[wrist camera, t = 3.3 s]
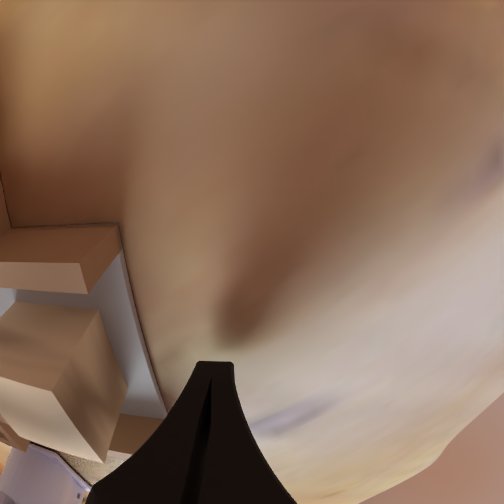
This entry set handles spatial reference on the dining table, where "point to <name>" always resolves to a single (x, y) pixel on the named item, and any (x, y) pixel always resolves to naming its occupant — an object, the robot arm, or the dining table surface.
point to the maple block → (60, 378)
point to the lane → (84, 296)
